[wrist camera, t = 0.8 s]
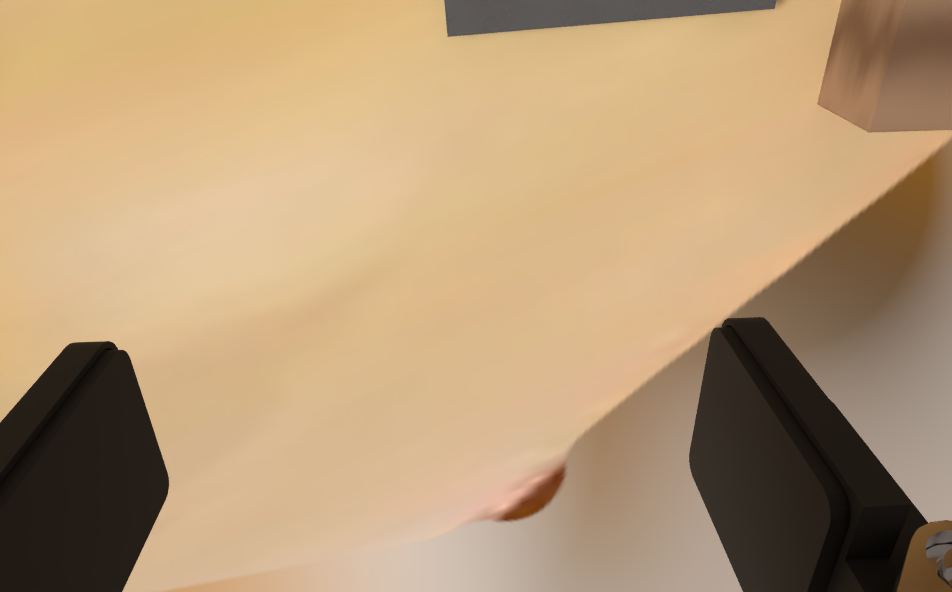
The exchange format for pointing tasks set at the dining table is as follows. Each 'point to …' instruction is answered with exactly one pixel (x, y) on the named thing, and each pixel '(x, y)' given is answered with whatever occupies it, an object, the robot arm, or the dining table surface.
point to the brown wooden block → (891, 65)
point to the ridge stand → (576, 12)
